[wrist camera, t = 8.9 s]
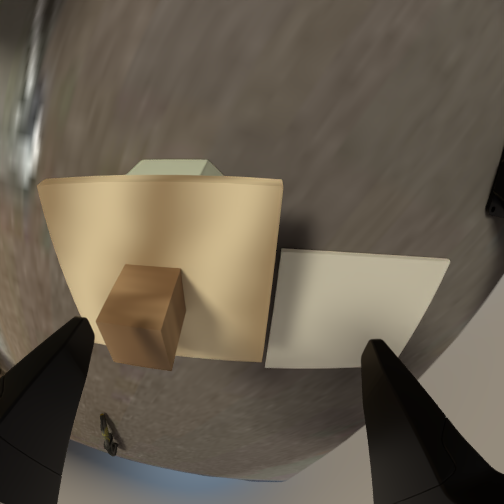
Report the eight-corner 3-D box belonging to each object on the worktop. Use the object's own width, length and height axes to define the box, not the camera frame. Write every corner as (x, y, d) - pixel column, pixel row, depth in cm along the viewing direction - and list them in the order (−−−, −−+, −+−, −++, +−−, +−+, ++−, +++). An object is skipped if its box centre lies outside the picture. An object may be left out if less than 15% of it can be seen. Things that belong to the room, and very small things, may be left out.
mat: (448, 258, 21) (450, 261, 20) (392, 361, 29) (393, 364, 28) (281, 248, 21) (281, 251, 20) (265, 364, 29) (264, 367, 28)
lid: (282, 179, 13) (291, 240, 9) (261, 352, 20) (261, 416, 16) (45, 179, 13) (-13, 227, 9) (97, 334, 19) (74, 387, 16)
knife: (101, 397, 42) (93, 420, 38) (109, 399, 42) (102, 423, 38) (111, 444, 53) (107, 461, 49) (118, 446, 53) (113, 463, 49)
